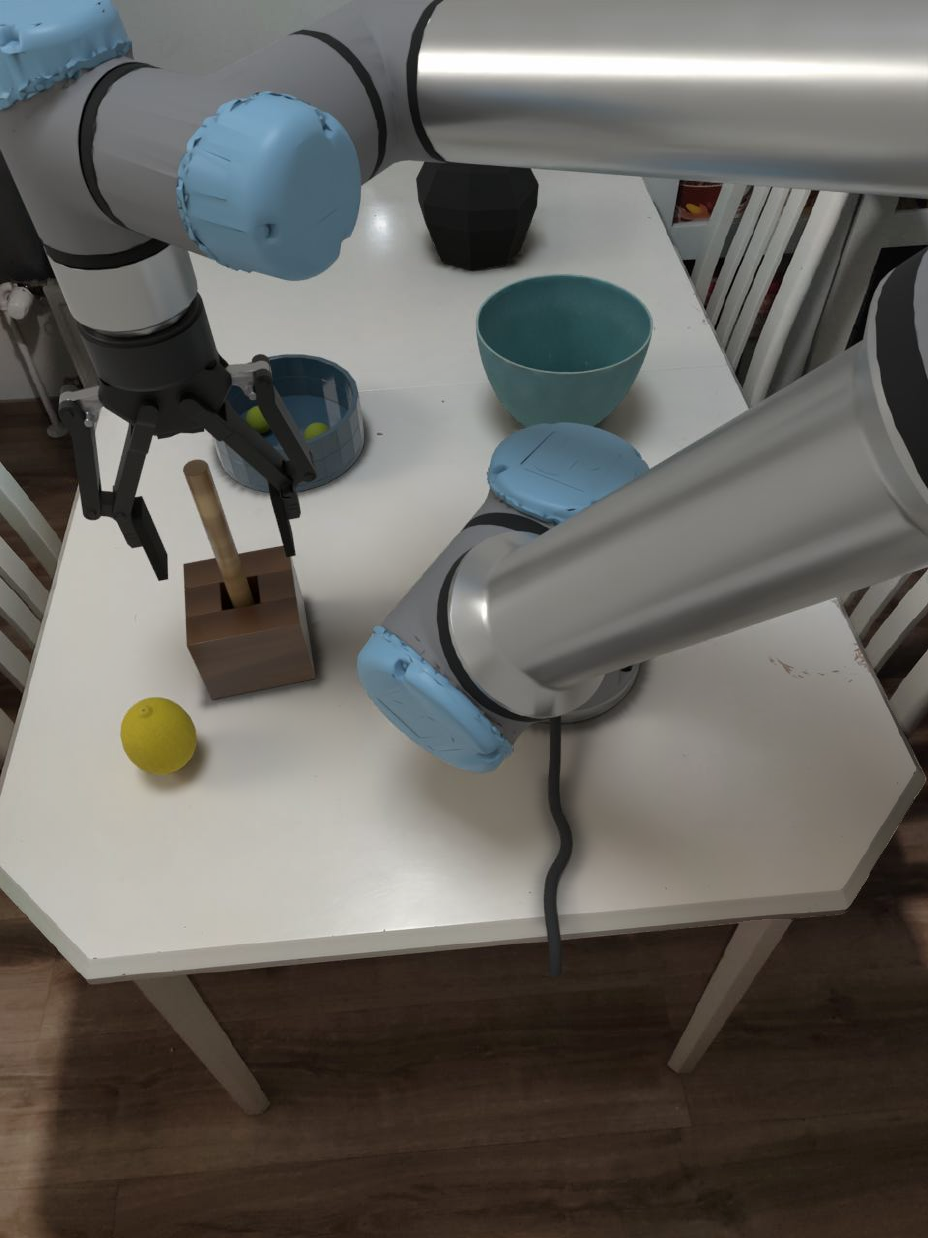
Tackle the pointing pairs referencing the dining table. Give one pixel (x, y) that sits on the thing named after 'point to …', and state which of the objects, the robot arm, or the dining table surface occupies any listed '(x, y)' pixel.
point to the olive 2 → (315, 430)
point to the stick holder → (247, 625)
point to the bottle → (477, 211)
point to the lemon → (158, 735)
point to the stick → (218, 531)
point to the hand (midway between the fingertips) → (226, 556)
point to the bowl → (305, 418)
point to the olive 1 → (257, 420)
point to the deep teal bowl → (562, 347)
